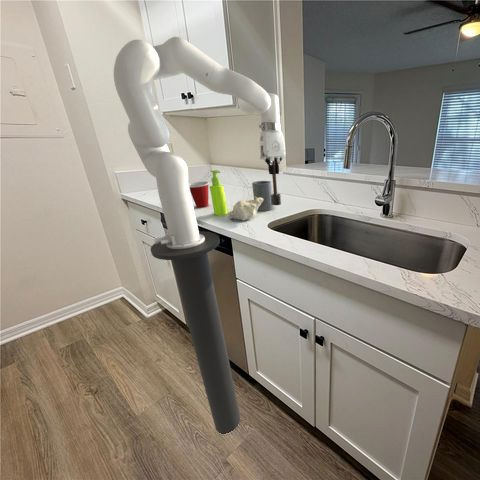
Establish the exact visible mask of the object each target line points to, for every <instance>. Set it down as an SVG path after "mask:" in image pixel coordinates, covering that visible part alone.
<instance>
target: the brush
mask: <svg viewBox="0 0 480 480" xmlns="http://www.w3.org/2000/svg"><path fill="white" fill-rule="evenodd" d="M272 161H273V165H274V173H275V174H274V175H272V174H271V176H272V177H271V178H272V194H271V205H273V206H280V205H282V195H281V193H278V185H277V174H276V167H275V161H274V160H272Z"/></svg>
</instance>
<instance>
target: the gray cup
mask: <svg viewBox="0 0 480 480" xmlns="http://www.w3.org/2000/svg"><path fill="white" fill-rule="evenodd" d="M251 186H252V187H251V188H252V194H253V200H254V199H256V198H259V197H261V198H263V200H264V201H263V202H262V203H261V205H260V206H259V207H258V210H257V212H267V211H268V212H269V211H273V210H274V205H271V194H273V183H272V181H270V180H257V181H253V182H252V183H251Z"/></svg>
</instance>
